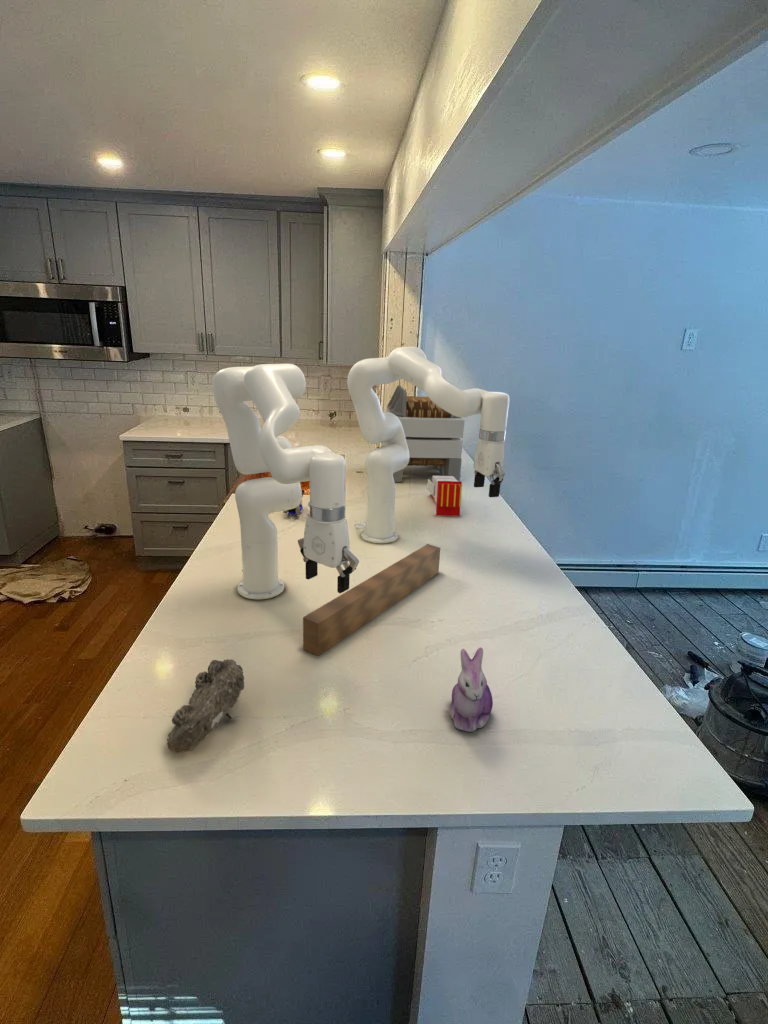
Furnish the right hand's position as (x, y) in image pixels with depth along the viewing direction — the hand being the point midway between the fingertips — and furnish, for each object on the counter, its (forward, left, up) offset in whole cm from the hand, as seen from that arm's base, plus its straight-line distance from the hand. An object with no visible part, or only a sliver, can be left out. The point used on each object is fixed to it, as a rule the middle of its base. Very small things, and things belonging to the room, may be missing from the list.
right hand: (486, 491), depth 170 cm
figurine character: (-73, +20, -24) cm, 79 cm away
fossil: (-39, -89, -24) cm, 100 cm away
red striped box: (-22, +53, -24) cm, 62 cm away
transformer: (-42, +95, -24) cm, 106 cm away
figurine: (+8, -72, -24) cm, 76 cm away
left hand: (-27, -59, -8) cm, 66 cm away
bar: (-21, -36, -24) cm, 49 cm away
